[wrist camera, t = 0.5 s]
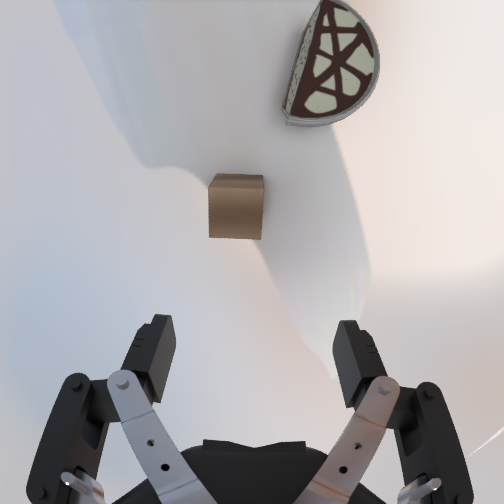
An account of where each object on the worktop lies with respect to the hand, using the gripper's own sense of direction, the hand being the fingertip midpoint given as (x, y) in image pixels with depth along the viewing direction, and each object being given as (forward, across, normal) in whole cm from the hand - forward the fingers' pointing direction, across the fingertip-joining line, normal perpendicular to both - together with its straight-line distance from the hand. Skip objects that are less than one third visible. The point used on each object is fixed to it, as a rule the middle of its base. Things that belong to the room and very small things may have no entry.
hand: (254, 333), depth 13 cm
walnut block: (+21, +2, 0) cm, 21 cm away
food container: (+21, -6, -14) cm, 26 cm away
